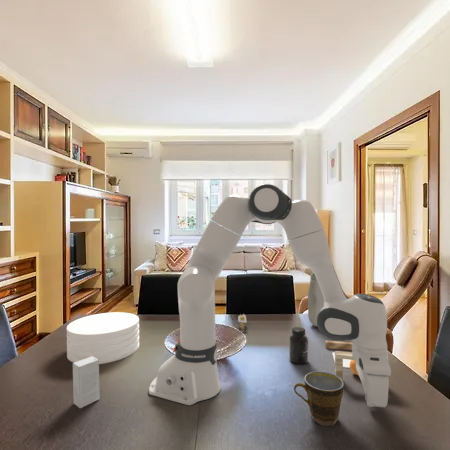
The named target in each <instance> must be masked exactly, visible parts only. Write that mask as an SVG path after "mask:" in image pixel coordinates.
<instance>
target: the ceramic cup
mask: <svg viewBox="0 0 450 450" xmlns="http://www.w3.org/2000/svg"><path fill="white" fill-rule="evenodd" d="M303 381H304V383H303V382H297V383H296V384H295V385H294V387H293V390H294V393H295V394H296V395H297V396H299V397H300V398H301V399H302V400H303V401H304V402H306V403H307V405H308V408H309V412H310V413H309V414H310V417H311V419H312V420H313V422H315V423H317V424H319V425H321V426H324V427H325V426H334V425H335V424H336V423H337V421H339V415H340V409H341V404H342V398H343V396H344V395H343V393H344V389H345V383H344V380H343V381H342V380H341V379H340V378H339V377H338V376H336V375H335V373H330V372H327V371H318V370H317V371H312V372H308V373H307V374H305V375H304V380H303ZM297 387H301V388H303V389H304V391H305V392H306V396H307V399H305V397H304V396H303V395H301V394H300V393H299V392H297V390H296V389H297Z"/></svg>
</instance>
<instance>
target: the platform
mask: <svg viewBox="0 0 450 450" xmlns="http://www.w3.org/2000/svg"><path fill="white" fill-rule="evenodd" d="M237 316H238V317H237V318H238V319H237V321H238V323H240V330H244V331H245V323H247V316H246V314H242V315H241V313H240V315H237Z"/></svg>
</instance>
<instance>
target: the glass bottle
mask: <svg viewBox="0 0 450 450" xmlns="http://www.w3.org/2000/svg"><path fill="white" fill-rule="evenodd" d="M309 280H310V281H309V286H308V291H307V314H308V320H309V323H311V325H312V326H314V327H317V328H318V326H317V316H318V314H319V312H320V311H321V309H322V308H323V306H324V297H323V294H322V291H321V289H320V286H319V284H318V281H317V279H316V276H315V274H314V273H313V271H311V274H310V279H309Z"/></svg>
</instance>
